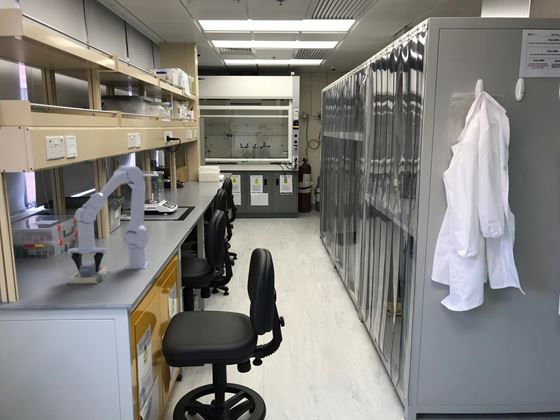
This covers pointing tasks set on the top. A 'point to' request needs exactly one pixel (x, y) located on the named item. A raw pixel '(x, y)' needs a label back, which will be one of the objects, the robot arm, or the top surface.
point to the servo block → (88, 269)
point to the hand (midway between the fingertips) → (88, 271)
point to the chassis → (78, 280)
